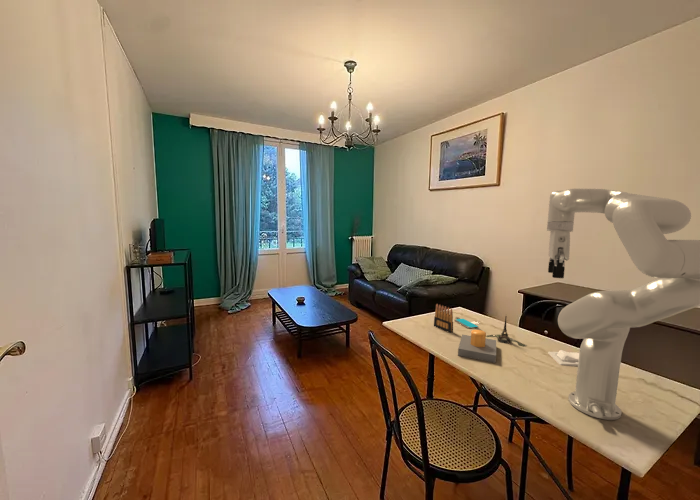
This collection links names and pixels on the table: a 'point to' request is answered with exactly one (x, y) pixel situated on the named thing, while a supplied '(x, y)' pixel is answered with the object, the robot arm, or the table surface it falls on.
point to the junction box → (477, 349)
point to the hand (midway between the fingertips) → (555, 275)
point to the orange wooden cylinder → (478, 338)
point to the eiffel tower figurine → (505, 337)
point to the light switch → (565, 358)
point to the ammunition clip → (444, 318)
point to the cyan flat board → (467, 323)
